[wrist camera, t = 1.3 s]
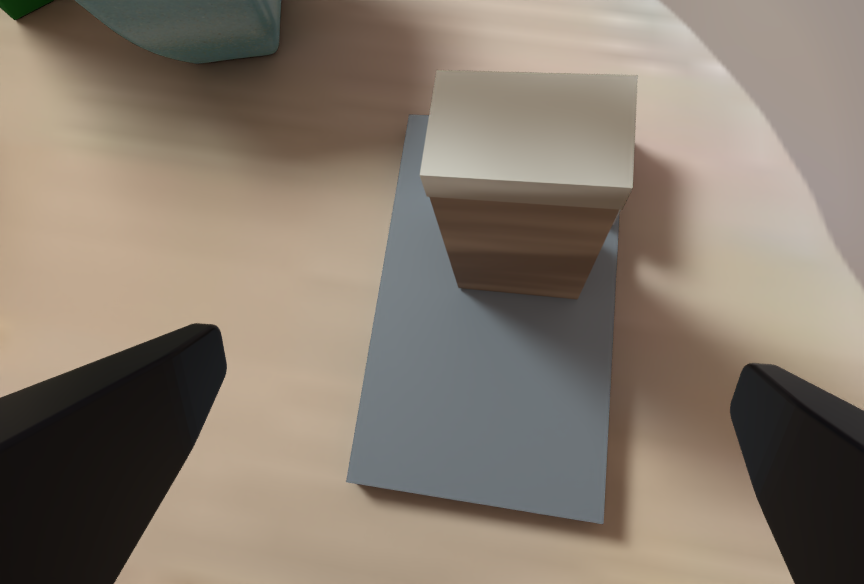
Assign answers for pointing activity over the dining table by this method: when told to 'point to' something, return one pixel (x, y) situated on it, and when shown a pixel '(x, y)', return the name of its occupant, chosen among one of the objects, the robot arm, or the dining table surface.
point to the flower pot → (194, 26)
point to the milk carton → (21, 7)
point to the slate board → (483, 376)
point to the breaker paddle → (528, 174)
